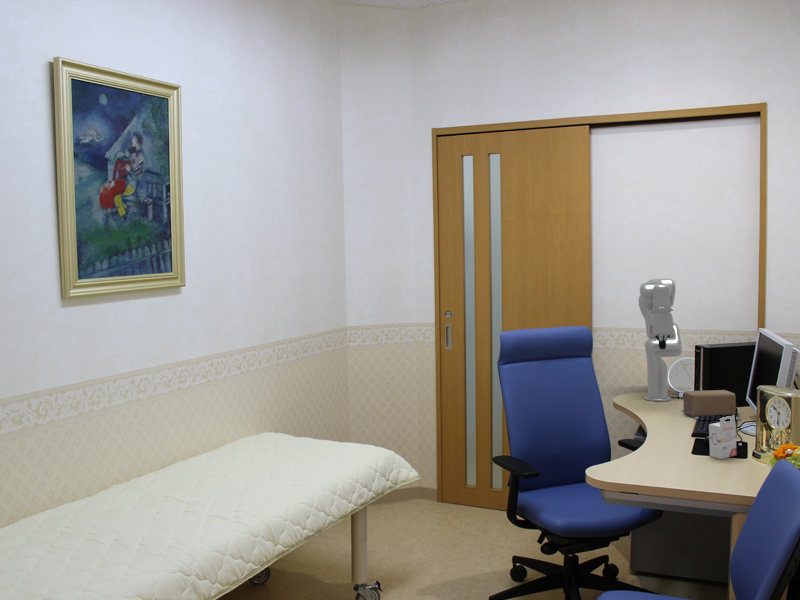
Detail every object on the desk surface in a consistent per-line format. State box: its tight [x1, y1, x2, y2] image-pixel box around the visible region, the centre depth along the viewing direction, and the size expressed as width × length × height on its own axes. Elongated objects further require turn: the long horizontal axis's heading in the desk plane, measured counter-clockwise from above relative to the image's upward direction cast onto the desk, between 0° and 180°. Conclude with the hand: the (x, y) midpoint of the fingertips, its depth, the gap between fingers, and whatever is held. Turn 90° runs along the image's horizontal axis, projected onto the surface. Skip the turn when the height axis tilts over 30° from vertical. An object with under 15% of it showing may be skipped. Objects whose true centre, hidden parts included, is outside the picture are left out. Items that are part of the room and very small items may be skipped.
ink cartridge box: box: [708, 415, 737, 460], centre depth 239 cm, size 9×5×15 cm, turn 117°
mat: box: [681, 409, 742, 421], centre depth 304 cm, size 22×18×1 cm
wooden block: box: [682, 389, 737, 417], centre depth 304 cm, size 10×10×20 cm
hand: (662, 349), depth 319 cm, fingers closed
